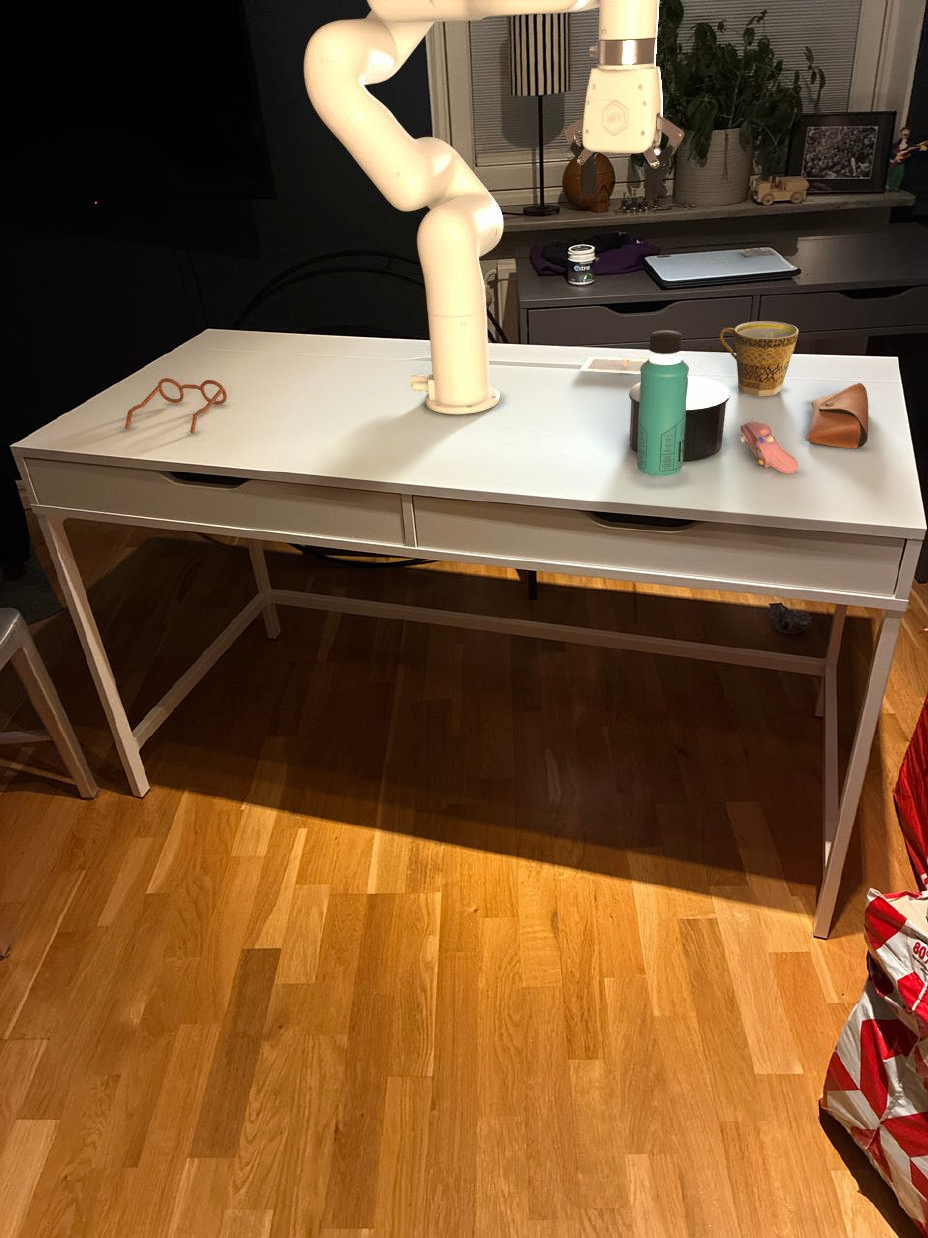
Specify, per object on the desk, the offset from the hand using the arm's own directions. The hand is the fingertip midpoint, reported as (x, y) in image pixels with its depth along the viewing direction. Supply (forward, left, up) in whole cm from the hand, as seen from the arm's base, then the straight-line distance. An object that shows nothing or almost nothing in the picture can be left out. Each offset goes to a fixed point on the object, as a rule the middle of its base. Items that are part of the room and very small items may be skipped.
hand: (619, 196), depth 133 cm
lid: (+11, -10, -25) cm, 29 cm away
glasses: (-73, -11, -33) cm, 81 cm away
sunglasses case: (+34, +1, -33) cm, 47 cm away
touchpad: (-1, +22, -33) cm, 40 cm away
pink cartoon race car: (+24, -15, -33) cm, 43 cm away
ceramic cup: (+21, +16, -33) cm, 42 cm away
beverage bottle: (+10, -21, -33) cm, 40 cm away
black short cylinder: (+11, -10, -33) cm, 36 cm away
